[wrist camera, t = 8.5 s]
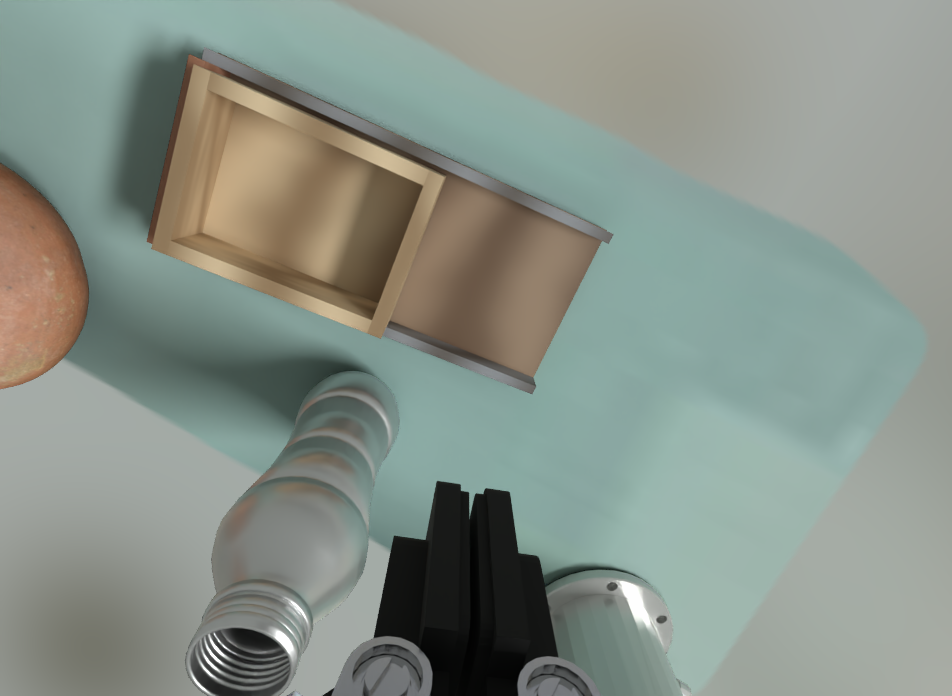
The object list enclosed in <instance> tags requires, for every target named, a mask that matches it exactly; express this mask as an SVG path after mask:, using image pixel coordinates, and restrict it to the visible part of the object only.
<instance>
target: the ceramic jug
mask: <svg viewBox="0 0 952 696" xmlns="http://www.w3.org/2000/svg"><path fill="white" fill-rule="evenodd" d="M88 303H89V288H88V280H87V274H86V271H85V267H84V264H83V260H82V257H81V253H80V250H79V247H78V245H77V242H76V240H75V238H74V236H73V234H72V233H71V231H70V229H69V228H68V226H67V224H66V223H65V221H64V220H63V219H62V217H61V216H60V215H59V213H58V212H57V211H56V210H55V208H54V207H53V206H52V205H51V204H50V203H49V202H48V200H47V199H46V198H45V197H44V196H43V195H42V194H41V193H40V192H39V191H37V190H36V189H35V188H34V187H33V186H32V185H31V184H29V183H28V182H27V181H26V180H24V179H23V178H22V177H20V176H19V175H18V174H16V173H15V172H14V171H12V170H11V169H9V168H7V167H6V166H4V165H3V164H1V163H0V389H3V388H8V387H13V386H17V385H20V384H23V383H25V382H28V381H31V380H33V379H35V378H37V377H39V376H40V375H42V374H44V373H45V372H47V371H48V370H50V369H51V368H52V367H54V366H55V365H56V364H57V363H58V362H59V361H61V360H62V358H63V357H64V356H65V355H66V354H67V353H68V352H69V350H70V349H71V348H72V346H73V345H74V343H75V342H76V340H77V338H78V336H79V335H80V332H81V330H82V328H83V326H84V323H85V319H86V315H87V309H88Z"/></svg>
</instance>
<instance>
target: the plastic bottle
mask: <svg viewBox="0 0 952 696" xmlns="http://www.w3.org/2000/svg"><path fill="white" fill-rule="evenodd" d="M399 421H400V420H399V412H398V405H397V402H396V399H395V397H394V395H393V393H392V392H391V390H390V389H389V387H388V386H387V385H386V384H385V383H384V382H382V381H381V380H379V379H378V378H377V377H375V376H372V375H370V374H368V373H364V372H360V371H344V372H339V373H336V374H333V375H331V376H329V377H327V378H326V379H324V380H323V381H321V382H320V383H318V384H317V385H316V386H315V387H314V388H312V389H311V390H310V391H309V393H308V394H307V395H306V397H305V398H304V400H303V402H302V404H301V406H300V409H299V412H298V414H297V417H296V422H295V427H294V430H293V432H292V434H291V436H290V439H289V441H288V443H287V445H286V447H285V448H284V450H283V451H282V452H281V453H280V455H279V456H278V457H277V459H276V460H275V461H274V463H273V464H272V465H271V467H270V468H269V469H268V470H267V471H266V472H265V473H264V474H263V475H262V476H261V477H260V478H259V479H258V480H257V481H256V482H255V483H254V484H253V485H252V486H251V487H250V488H249V489H248V490H247V491H246V492H245V493H244V494H243V495H242V496H241V497H240V498H239V499H238V500H237V502H236V503H235V504H234V505H233V506H232V508H231V509H230V510H229V511H228V513H227V514H226V515H225V517H224V518H223V519H222V521H221V523H220V526H219V528H218V530H217V534H216V538H215V542H214V547H213V553H212V558H211V561H212V572H213V578H214V584H215V589H216V592H217V594H216V595H215V596H214V598H213V599H212V600H211V602H210V604H209V605H208V607H207V609H206V611H205V613H204V615H203V617H202V623H201V625H200V627H199V628H198V630H197V632H196V634H195V635H194V637H193V639H192V641H191V643H190V645H189V647H188V651H187V653H186V659H185V665H186V671H187V673H188V676H189V678H190V679H191V681H192V682H193V684H194V685H195V686H196V687H197V688H198V689H199V690H200V691H201V692H203V693H204V694H206V695H207V696H279V695H280V694H282V693H283V692H284V691H285V690H286V689H287V688H288V686H289V685H290V683H291V681H292V679H293V677H294V675H295V673H296V670H297V667H298V664H299V661H300V658H301V655H302V654H303V653H304V651H305V649H306V647H307V645H308V643H309V640H310V637H311V633H312V630H313V625H314V624H316V623H317V622H318V621H320V620H321V619H323V618H324V617H325V616H326V615H328V614H329V613H331V612H332V611H333V610H335V609H336V608H337V607H339V606H340V605H341V604H342V603H343V602H344V600H345V599H346V598H347V597H348V596H349V594H350V593H351V591H352V590H353V588H354V587H355V585H356V584H357V582H358V580H359V578H360V577H361V575H362V573H363V570H364V566H365V562H366V557H367V550H368V534H369V513H370V504H371V498H372V493H373V487H374V483H375V479H376V476H377V474H378V472H379V469H380V467H381V465H382V462H383V461H384V459H385V458H386V457H387V455H388V454H389V452H390V450H391V448H392V446H393V444H394V442H395V440H396V438H397V435H398V431H399Z"/></svg>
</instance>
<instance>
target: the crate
mask: <svg viewBox="0 0 952 696" xmlns="http://www.w3.org/2000/svg"><path fill="white" fill-rule="evenodd" d="M445 179H446V175H444V174H442V173H440V172H437V171H435V170H433V169H431V168H428V167H426V166H424V165H422V164H420V163H417V162H415V161H413V160H411V159H408V158H406V157H404V156H402V155H400V154H397V153H395V152H393V151H391V150H389V149H386V148H384V147H382V146H380V145H377V144H375V143H373V142H371V141H369V140H366V139H364V138H362V137H360V136H358V135H355V134H353V133H351V132H349V131H346V130H344V129H342V128H340V127H338V126H335V125H333V124H331V123H329V122H327V121H324V120H322V119H320V118H318V117H315V116H313V115H311V114H309V113H307V112H304V111H302V110H300V109H298V108H296V107H293V106H291V105H289V104H287V103H284V102H282V101H280V100H278V99H276V98H273V97H271V96H269V95H267V94H265V93H262V92H260V91H258V90H256V89H253V88H251V87H249V86H247V85H245V84H242V83H240V82H238V81H236V80H233V79H231V78H228V77H226V76H223V75H221V74H218V73H215V72H213V71H210V70H208V69H205V68H202V67H200V66H197V65H195V64H194V65H193V69H192V74H191V78H190V83H189V87H188V91H187V96H186V100H185V104H184V109H183V113H182V117H181V122H180V126H179V130H178V135H177V139H176V144H175V148H174V152H173V157H172V161H171V165H170V170H169V174H168V178H167V183H166V187H165V192H164V196H163V200H162V205H161V209H160V213H159V218H158V222H157V226H156V231H155V235H154V239H153V244H152V248H151V249H153V250H156V251H158V252H161V253H163V254H166V255H168V256H171V257H174V258H176V259H179V260H181V261H184V262H186V263H189V264H191V265H194V266H197V267H199V268H202V269H204V270H207V271H209V272H212V273H214V274H217V275H219V276H222V277H225V278H227V279H230V280H232V281H235V282H237V283H240V284H242V285H245V286H248V287H250V288H253V289H255V290H258V291H260V292H263V293H265V294H268V295H271V296H273V297H276V298H278V299H281V300H283V301H286V302H288V303H291V304H294V305H296V306H299V307H301V308H304V309H306V310H309V311H311V312H314V313H317V314H319V315H322V316H324V317H327V318H329V319H332V320H334V321H337V322H339V323H342V324H345V325H347V326H350V327H352V328H355V329H357V330H360V331H362V332H365V333H368V334H370V335H373V336H375V337H378V338H380V339H381V337H382V335H383V333H384V331H385V329H386V327H387V325H388V323H389V321H390V319H391V316H392V314H393V311H394V309H395V306H396V304H397V301H398V299H399V296H400V293H401V291H402V288H403V286H404V283H405V281H406V278H407V276H408V273H409V271H410V268H411V265H412V263H413V260H414V258H415V255H416V253H417V250H418V248H419V245H420V243H421V240H422V237H423V235H424V232H425V230H426V227H427V225H428V222H429V220H430V217H431V215H432V212H433V210H434V207H435V204H436V202H437V199H438V197H439V194H440V192H441V189H442V187H443V184H444V182H445Z"/></svg>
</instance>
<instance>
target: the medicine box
mask: <svg viewBox="0 0 952 696" xmlns="http://www.w3.org/2000/svg"><path fill="white" fill-rule="evenodd" d="M287 696H302V695H301V694H300V693H298V692H297V691H294V692H292V693H291V694H289V695H287Z"/></svg>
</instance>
